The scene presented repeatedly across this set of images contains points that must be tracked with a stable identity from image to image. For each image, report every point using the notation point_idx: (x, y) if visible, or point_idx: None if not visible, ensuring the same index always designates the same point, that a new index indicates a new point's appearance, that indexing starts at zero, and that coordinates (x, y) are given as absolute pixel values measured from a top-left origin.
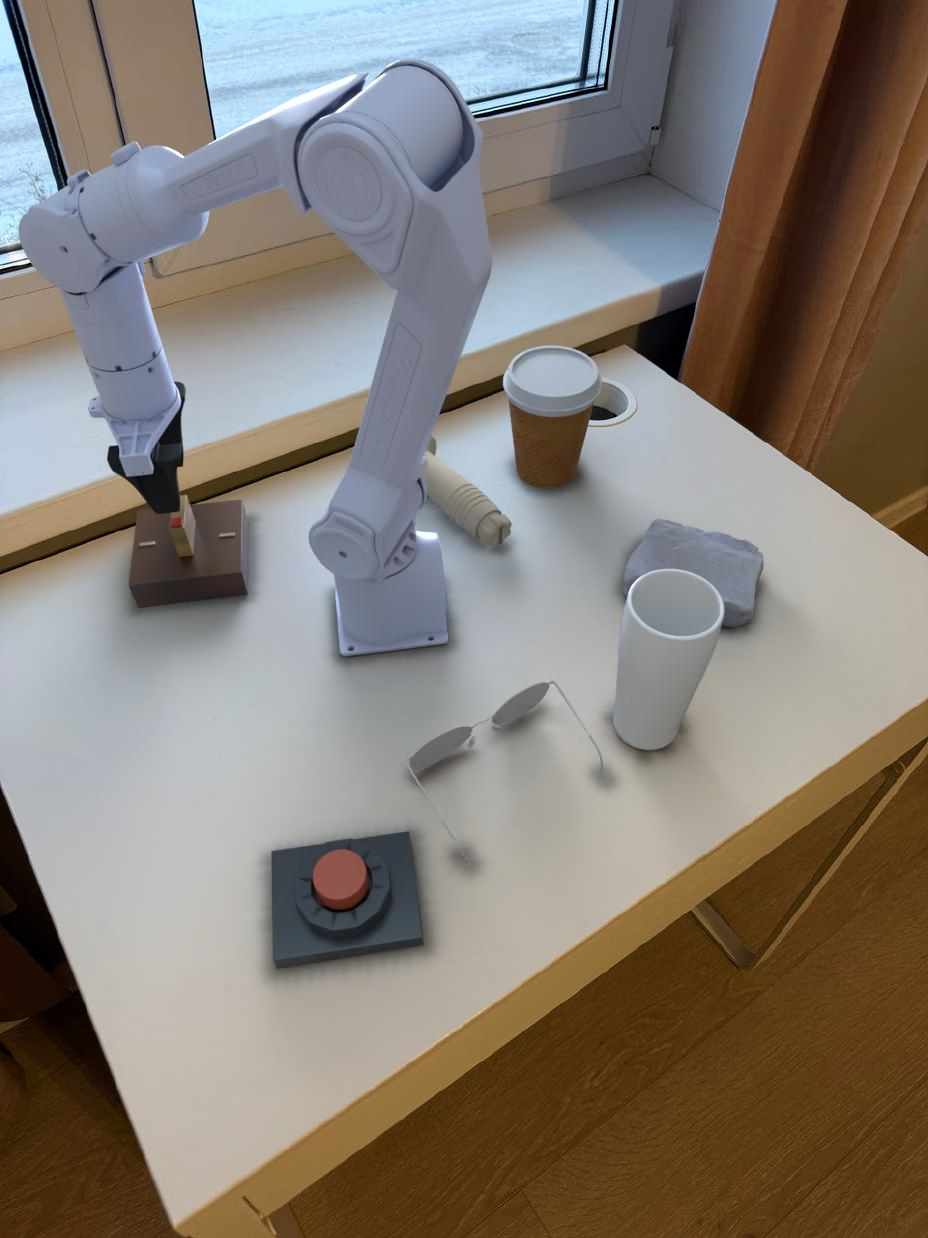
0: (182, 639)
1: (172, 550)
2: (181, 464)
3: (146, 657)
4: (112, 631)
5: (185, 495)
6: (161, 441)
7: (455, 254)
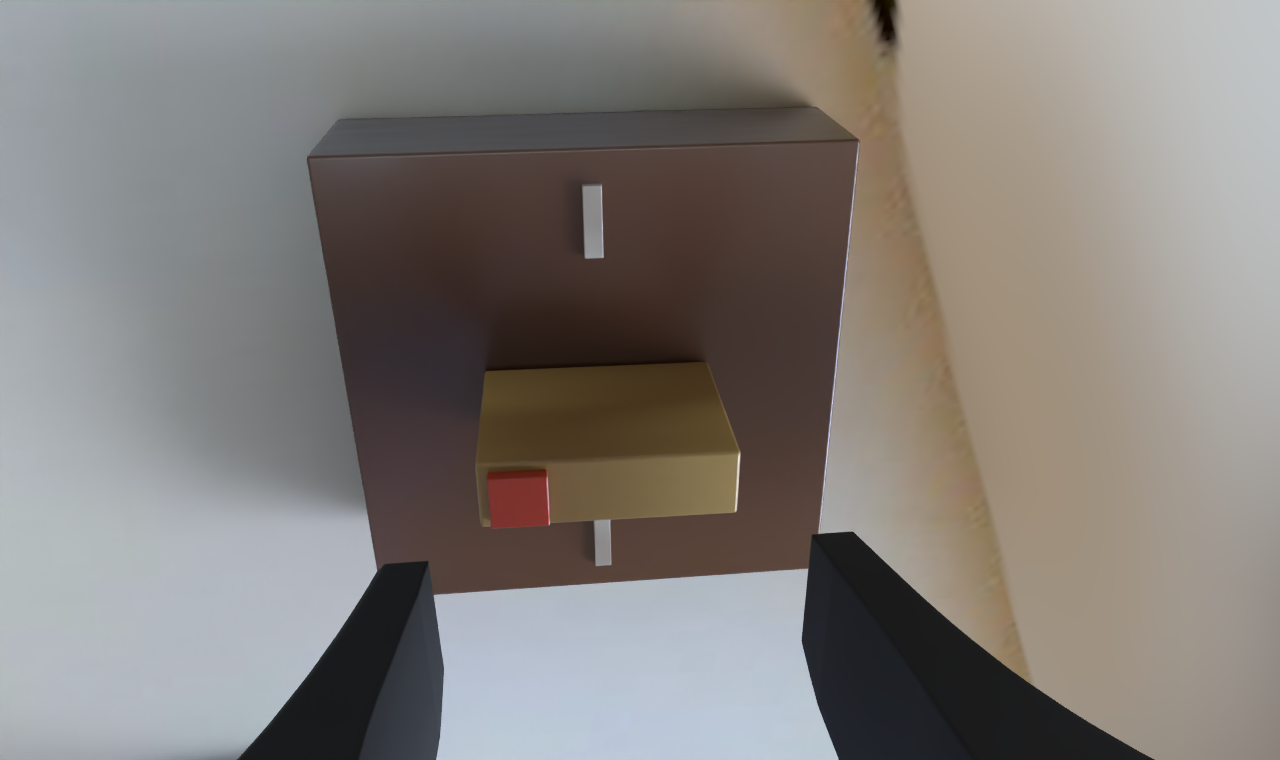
0: (159, 319)
1: (538, 335)
2: (804, 651)
3: (43, 188)
4: (186, 15)
5: (731, 509)
6: (881, 733)
7: None
